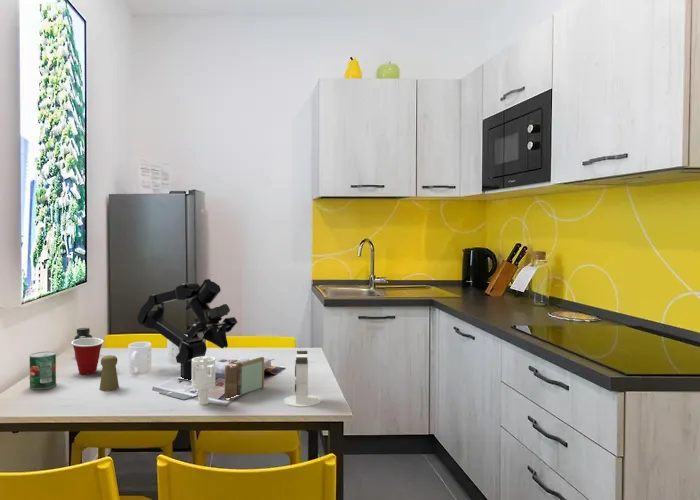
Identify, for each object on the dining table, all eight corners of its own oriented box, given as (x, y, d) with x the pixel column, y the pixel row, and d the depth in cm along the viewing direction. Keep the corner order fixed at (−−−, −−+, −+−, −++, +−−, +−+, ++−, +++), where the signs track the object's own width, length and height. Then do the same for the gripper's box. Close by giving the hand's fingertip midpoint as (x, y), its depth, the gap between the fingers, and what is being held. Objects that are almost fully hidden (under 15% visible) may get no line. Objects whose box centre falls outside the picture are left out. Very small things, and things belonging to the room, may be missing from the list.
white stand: (284, 395, 185) (285, 349, 184) (319, 395, 186) (320, 349, 185) (283, 407, 173) (283, 358, 172) (320, 406, 174) (320, 358, 173)
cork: (114, 384, 194) (114, 353, 194) (121, 388, 190) (121, 356, 190) (96, 388, 190) (96, 355, 190) (103, 392, 186) (103, 358, 185)
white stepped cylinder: (193, 407, 171) (193, 358, 170) (190, 401, 177) (190, 353, 177) (217, 405, 174) (217, 356, 173) (212, 398, 180) (213, 352, 180)
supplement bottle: (87, 354, 237) (87, 326, 237) (96, 357, 233) (96, 328, 233) (71, 357, 232) (70, 328, 231) (80, 360, 228) (79, 330, 227)
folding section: (238, 393, 185) (239, 363, 184) (261, 385, 194) (261, 356, 193) (242, 394, 184) (242, 363, 184) (264, 386, 193) (265, 357, 193)
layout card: (159, 393, 185) (159, 392, 185) (181, 387, 192) (181, 385, 192) (183, 400, 178) (183, 398, 178) (205, 393, 186) (205, 392, 186)
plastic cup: (76, 378, 202) (76, 344, 201) (67, 372, 210) (67, 339, 209) (108, 373, 209) (107, 341, 208) (98, 367, 217) (98, 336, 216)
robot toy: (225, 375, 212) (260, 376, 207) (224, 363, 212) (259, 364, 207) (242, 367, 223) (276, 368, 218) (241, 356, 223) (275, 357, 218)
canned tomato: (24, 388, 189) (23, 355, 189) (44, 381, 197) (43, 350, 196) (42, 390, 187) (41, 357, 186) (61, 384, 194) (61, 352, 193)
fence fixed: (223, 399, 179) (223, 366, 179) (238, 394, 185) (238, 361, 184) (227, 400, 178) (227, 366, 178) (242, 395, 184) (242, 362, 183)
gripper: (193, 299, 188) (216, 337, 182) (233, 294, 203) (256, 328, 198) (177, 321, 192) (199, 357, 187) (218, 314, 208) (240, 347, 202)
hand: (225, 347), depth 193 cm, fingers closed
